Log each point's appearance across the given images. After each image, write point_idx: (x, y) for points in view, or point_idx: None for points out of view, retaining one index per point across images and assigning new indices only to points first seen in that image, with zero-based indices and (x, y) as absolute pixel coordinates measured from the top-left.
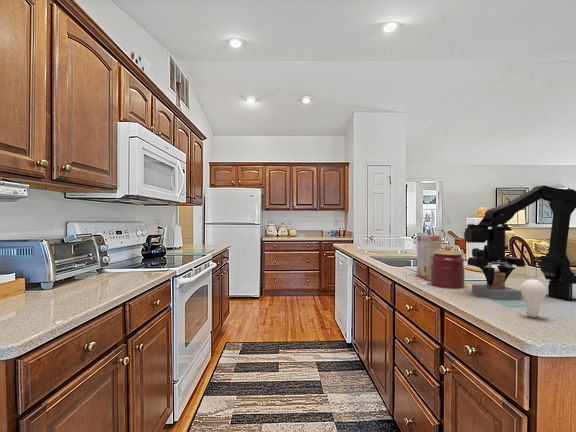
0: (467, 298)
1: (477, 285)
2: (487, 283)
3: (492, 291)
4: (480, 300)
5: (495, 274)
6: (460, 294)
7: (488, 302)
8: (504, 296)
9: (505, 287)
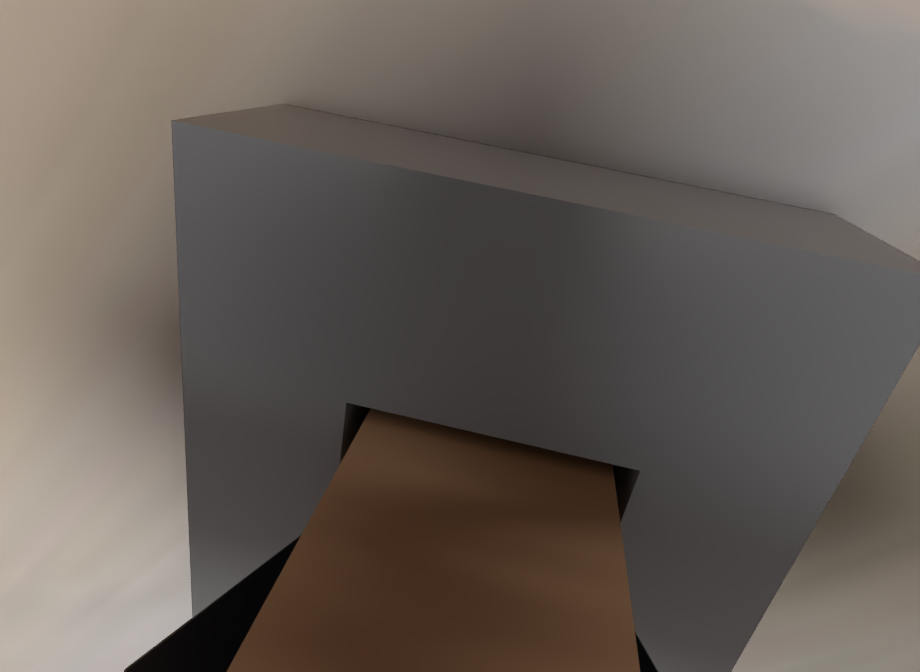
0: (12, 359)
1: (229, 275)
2: (333, 494)
3: None
4: (128, 481)
5: None
6: (26, 105)
7: (166, 565)
8: None
9: (705, 597)
